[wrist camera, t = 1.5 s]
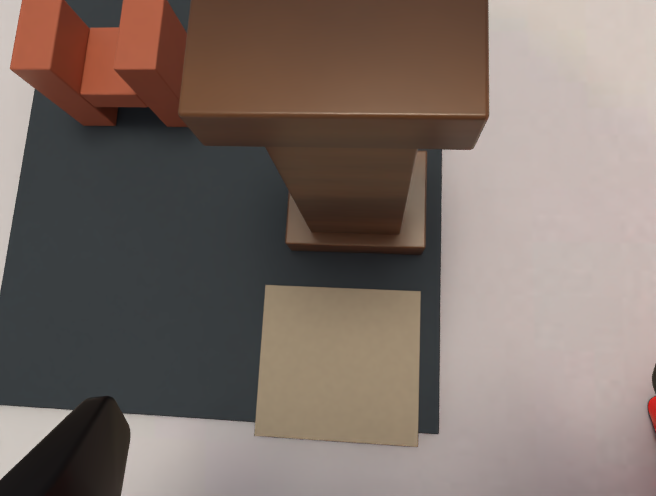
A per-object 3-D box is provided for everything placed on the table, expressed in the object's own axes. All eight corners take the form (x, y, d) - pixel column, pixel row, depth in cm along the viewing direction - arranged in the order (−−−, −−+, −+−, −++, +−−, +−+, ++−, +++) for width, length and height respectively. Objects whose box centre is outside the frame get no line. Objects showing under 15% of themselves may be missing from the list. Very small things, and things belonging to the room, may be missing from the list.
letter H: (201, 127, 24) (155, 69, 19) (83, 126, 24) (8, 69, 19) (207, 66, 24) (164, -6, 19) (92, 66, 25) (21, -4, 20)
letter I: (422, 255, 22) (490, 118, 9) (290, 250, 22) (175, 115, 9) (424, 163, 22) (488, -86, 10) (296, 160, 23) (197, -78, 10)
